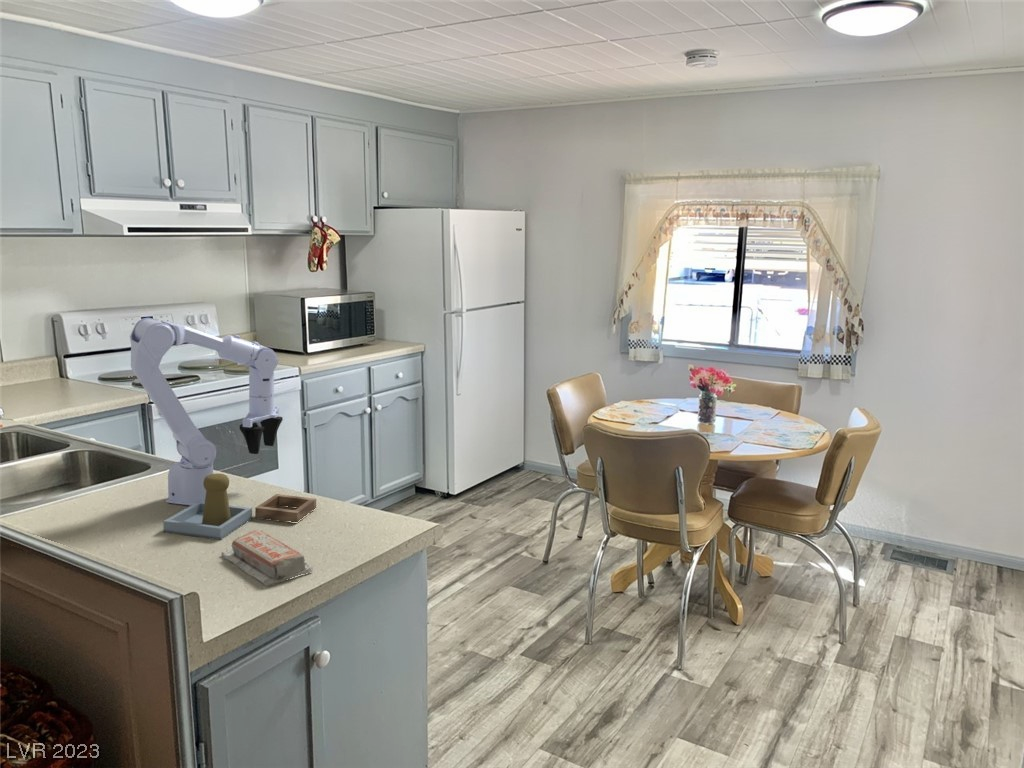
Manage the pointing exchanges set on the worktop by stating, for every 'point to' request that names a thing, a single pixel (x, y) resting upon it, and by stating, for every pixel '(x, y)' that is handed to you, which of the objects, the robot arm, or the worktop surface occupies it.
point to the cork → (216, 500)
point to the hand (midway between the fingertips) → (261, 449)
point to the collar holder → (271, 512)
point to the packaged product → (266, 558)
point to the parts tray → (192, 524)
